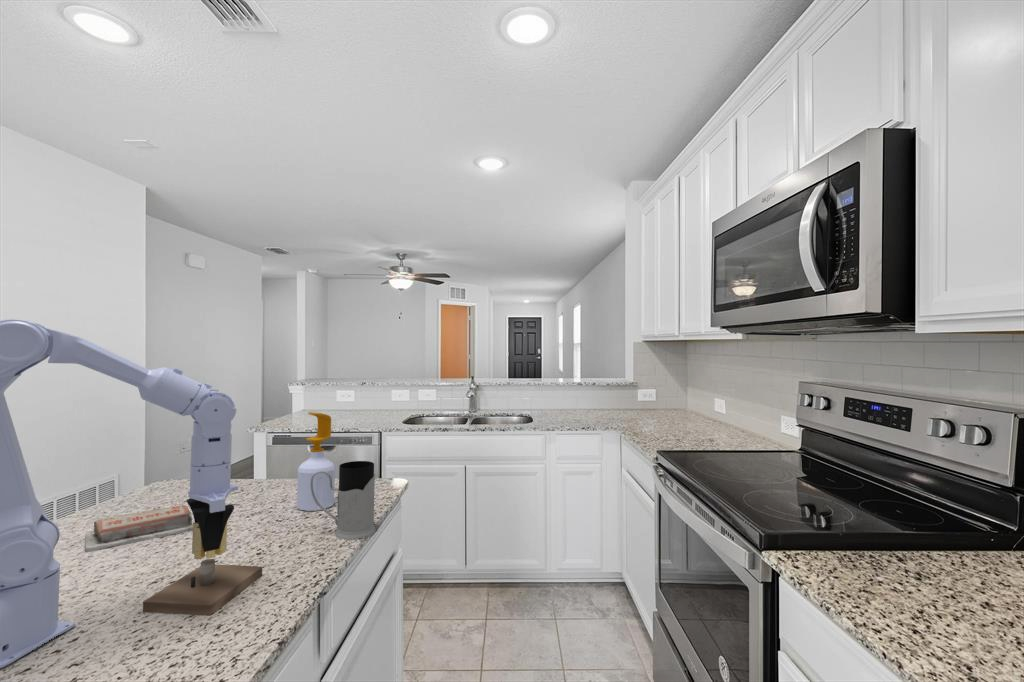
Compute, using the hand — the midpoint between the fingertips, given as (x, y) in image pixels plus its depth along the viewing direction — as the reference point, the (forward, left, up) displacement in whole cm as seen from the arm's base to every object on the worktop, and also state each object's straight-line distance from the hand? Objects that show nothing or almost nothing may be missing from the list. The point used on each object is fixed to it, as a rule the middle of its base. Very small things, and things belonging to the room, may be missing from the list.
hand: (208, 544), depth 78 cm
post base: (0, 0, -8) cm, 8 cm away
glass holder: (+27, -11, -8) cm, 31 cm away
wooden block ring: (0, 0, -1) cm, 1 cm away
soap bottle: (+44, +4, -8) cm, 45 cm away
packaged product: (+22, +32, -8) cm, 40 cm away
